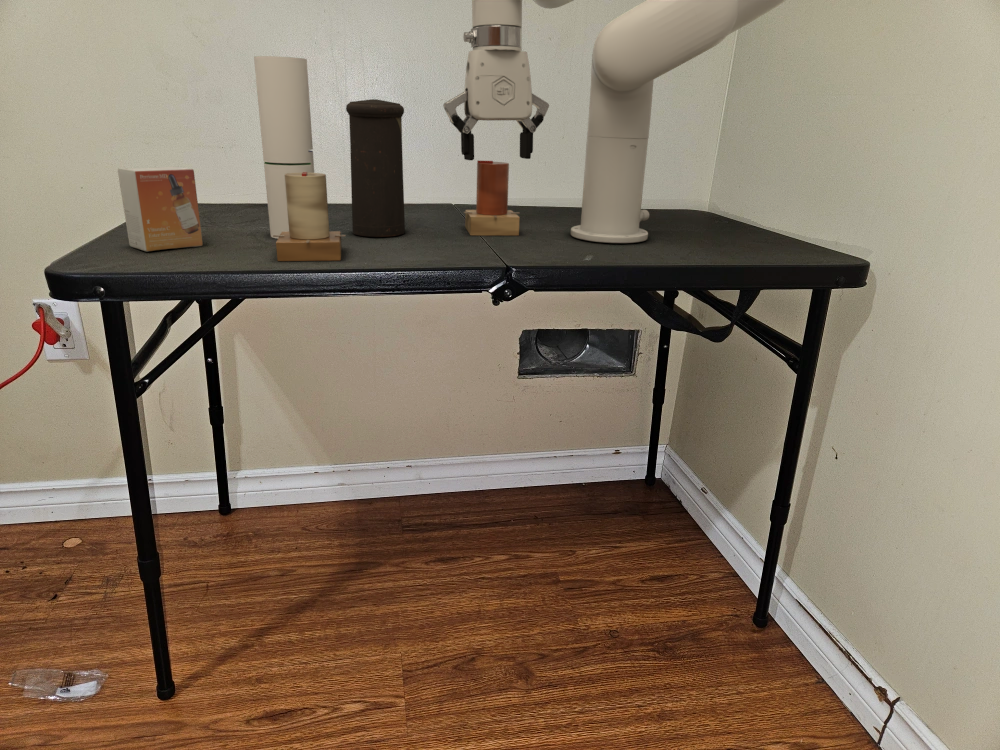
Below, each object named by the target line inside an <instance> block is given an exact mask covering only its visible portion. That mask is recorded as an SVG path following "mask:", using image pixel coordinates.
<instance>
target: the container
mask: <svg viewBox="0 0 1000 750" xmlns="http://www.w3.org/2000/svg"><path fill="white" fill-rule="evenodd" d="M345 111H346V113H347V114H348V119H349V122H348V123H349V140H350V141H349V143H350V144H349V146H350V149H349V151H350V183H351V184H350V187H351V224H352V234H353V235H356V236H360V237H367V238H368V237H369V238H388V237H389V238H390V237H398V236H401V235H403V234H405V232H406V218H405V193H404V191H405V190H404V189H405V188H404V163H403V161H404V159H403V124H402V123H403V122H402V121H403V120H402V119H403V115H404V113H405V108H404V106H403V105H401V104H400V103H399V102H392V101H388V100H382V99H378V98H377V99H375V98H373V99H372V98H371V99H363V100H355V101H349V102H348V103H347V104H346V106H345Z"/></svg>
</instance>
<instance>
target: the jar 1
mask: <svg viewBox="0 0 1000 750" xmlns="http://www.w3.org/2000/svg"><path fill="white" fill-rule="evenodd" d="M285 187H286V199H287V211H288V223H289V235H290V237H291V238H295V239H322V238H327V237H329V236H330V234H329V231H330V219H329V206H328V205H329V204H328V188H327V175H326V174H325V173H320V172H314V173H307V172H303V173H287V174H285Z"/></svg>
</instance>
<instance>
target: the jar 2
mask: <svg viewBox="0 0 1000 750" xmlns="http://www.w3.org/2000/svg"><path fill="white" fill-rule="evenodd" d="M509 178H510V163H509V162H503V161H493V160H479V159H478V160H477V161H476V197H475V198H476V202H475V203H476V204H475V205H476V206H475V210H476V213H478V214H483V215H505V214H507V211H508V210H509V180H510V179H509Z"/></svg>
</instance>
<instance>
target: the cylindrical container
mask: <svg viewBox="0 0 1000 750" xmlns="http://www.w3.org/2000/svg"><path fill="white" fill-rule="evenodd" d="M253 61H254V72H255V82H256V83H255V84H256V92H257V93H256V94H257V102H258V103H257V105H258V115H259V125H260V138H261V148H262V158H263V162H264V163H263V168H264V169H263V170H264V180H265V190H266V201H267V213H268V223H269V233H270V234H269V235H270V238H273V239H277V240H278V238H279V237H273V235H280V234H281V232H289V223H288V211H287V199H286V187H285V174H287V173H303V172H307V173H315V161H314V151H313V150H314V148H313V133H312V132H313V130H312V119H311V117H312V116H311V104H310V103H311V102H310V100H311V99H310V88H309V72H308V59H307V58H302V57H294V56H293V57H291V56H277V55H276V56H275V55H274V56H273V55H272V56H271V55H269V56H268V55H258V56H257V55H256V56H253Z"/></svg>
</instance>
